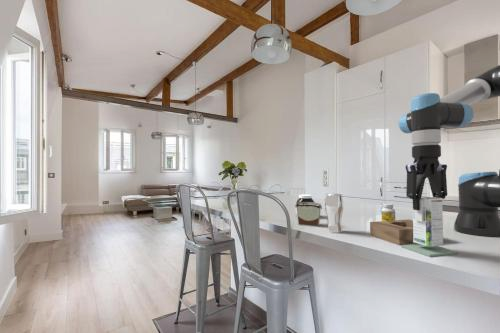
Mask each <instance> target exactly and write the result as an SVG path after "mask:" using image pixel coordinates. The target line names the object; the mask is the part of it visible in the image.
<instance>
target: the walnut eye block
mask: <svg viewBox="0 0 500 333" xmlns="http://www.w3.org/2000/svg"><path fill="white" fill-rule="evenodd" d="M369 234H370V236H372V237H374V238H377V239H380V240H383V241H386V242H389V243H391V244H395V245H397V246H402V245H410V244H418V243H414V242H413V219H410V218H409V219H395V220H393V221H382V220H381V221H380V220H379V221H370V222H369Z"/></svg>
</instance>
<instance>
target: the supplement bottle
mask: <svg viewBox="0 0 500 333" xmlns="http://www.w3.org/2000/svg"><path fill="white" fill-rule="evenodd" d="M382 207H383V208H382V209H381V221H393V220H396V209H395V208H394V204H392V203H383V204H382Z"/></svg>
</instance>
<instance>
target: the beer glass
mask: <svg viewBox="0 0 500 333" xmlns="http://www.w3.org/2000/svg"><path fill="white" fill-rule="evenodd" d="M343 198H344V197H343V194H341V193H326V194H325V201H324V203H325V206H324V207H325V213H326V219H327V227H326V232H327V233H330V234H331V233H332V234H333V233H334V234H340V233H343V226H342V218H343V211H344V199H343Z"/></svg>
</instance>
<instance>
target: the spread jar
mask: <svg viewBox="0 0 500 333" xmlns="http://www.w3.org/2000/svg"><path fill="white" fill-rule="evenodd" d="M298 202H315V200H314V199H313V195H312V194H299V195H298V199H297V200H296V203H298ZM296 203H295V204H296ZM295 213H296V215H297V207H295Z"/></svg>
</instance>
